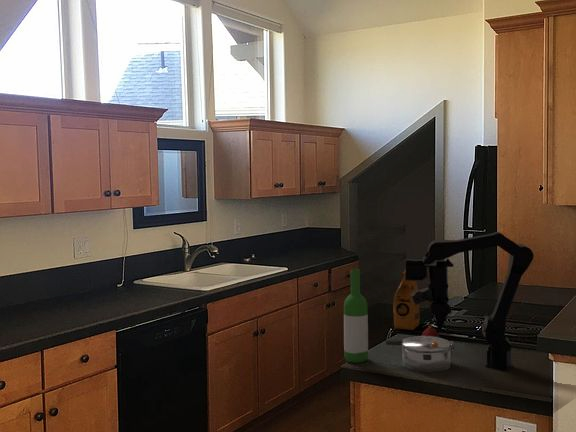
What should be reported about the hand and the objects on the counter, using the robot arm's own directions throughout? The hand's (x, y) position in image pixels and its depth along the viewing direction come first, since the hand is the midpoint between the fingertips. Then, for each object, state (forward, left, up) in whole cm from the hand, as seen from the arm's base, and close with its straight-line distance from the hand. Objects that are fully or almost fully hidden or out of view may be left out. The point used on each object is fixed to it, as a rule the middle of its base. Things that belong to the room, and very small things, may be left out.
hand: (439, 329), depth 206 cm
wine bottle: (+23, +14, -12) cm, 29 cm away
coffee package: (+35, -32, -12) cm, 49 cm away
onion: (+12, -13, -12) cm, 22 cm away
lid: (+5, +4, -6) cm, 8 cm away
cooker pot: (+3, +2, -12) cm, 12 cm away
